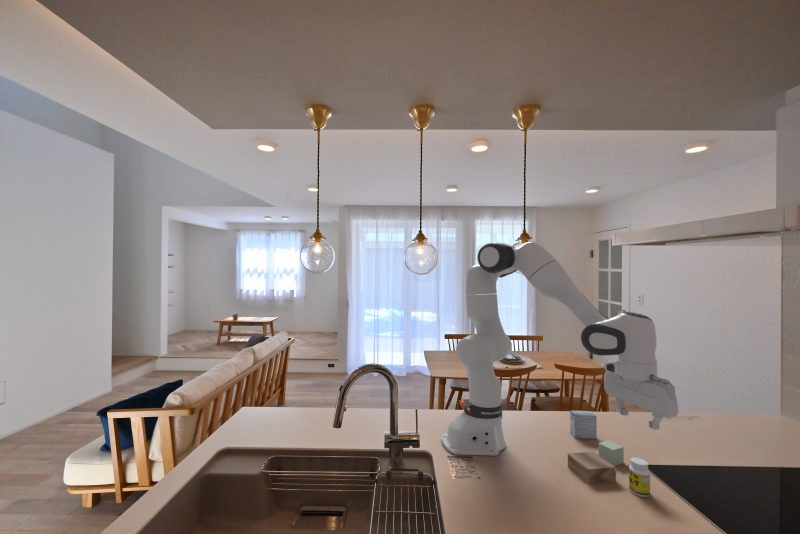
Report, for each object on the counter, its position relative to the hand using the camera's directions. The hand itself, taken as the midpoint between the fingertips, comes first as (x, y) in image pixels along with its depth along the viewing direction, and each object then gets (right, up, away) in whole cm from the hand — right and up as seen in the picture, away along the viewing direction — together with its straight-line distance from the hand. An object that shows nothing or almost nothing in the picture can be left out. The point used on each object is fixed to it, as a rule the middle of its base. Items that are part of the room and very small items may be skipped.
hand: (638, 421), depth 94 cm
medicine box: (+3, -21, +33) cm, 39 cm away
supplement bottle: (0, -19, -1) cm, 19 cm away
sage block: (+2, -20, +16) cm, 26 cm away
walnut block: (-9, -19, +8) cm, 23 cm away
